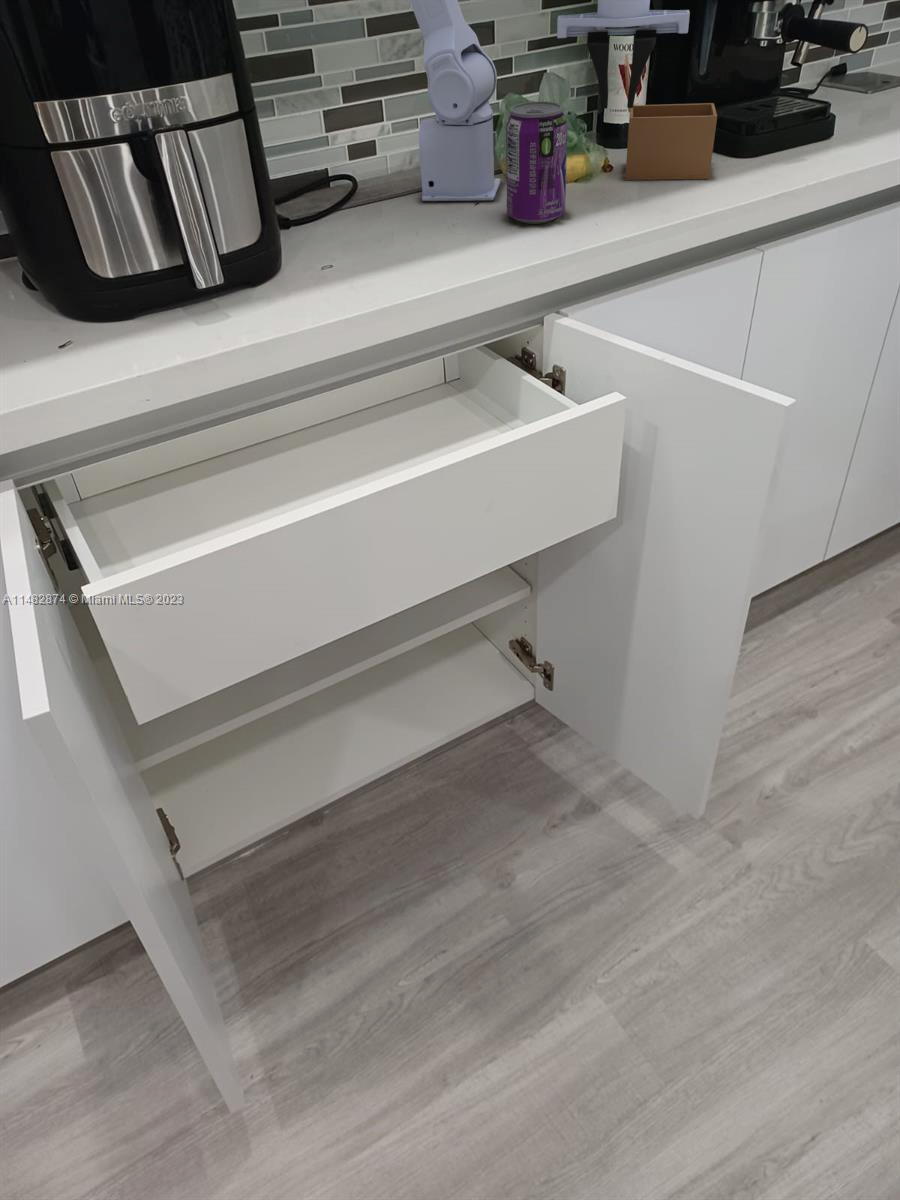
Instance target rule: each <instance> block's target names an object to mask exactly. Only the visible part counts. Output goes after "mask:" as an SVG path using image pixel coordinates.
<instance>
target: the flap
mask: <svg viewBox="0 0 900 1200" xmlns="http://www.w3.org/2000/svg"><path fill="white" fill-rule="evenodd" d="M629 65H630V64H629V54H626V55H625V56H624V75H625V87H626V97H627V98H626V99H628V91H629V84H630V77H631V75H630V66H629ZM627 109H628V113H629V114H630V112H631V108H627Z"/></svg>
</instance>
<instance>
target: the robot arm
mask: <svg viewBox="0 0 900 1200" xmlns="http://www.w3.org/2000/svg"><path fill="white" fill-rule="evenodd" d="M409 2H410V5H411V9H412V11H413V13H414V17H415V19H416V21H417V25H418V27H419V30H420V33H421V35H422V39H423V43H424V44H423V45H424V46H423V57H422V65H423V68H424V71H425V74H426V77H427V99H428V102H429V105H430V108H431V109H432V111H433V112H434V114H435V118H427V119H422V120H421V121H420V124H419V125H420V126H419V130H418V131H419V132H418V152H419V165H420V179H421V180H420V181H421V194H422V195H421V201H423V202H446V201H447V202H449V201H450V202H456V201H457V202H459V201H461V202H463V201H464V202H465V201H468V202H469V201H471V202H472V201H474V202H475V201H493V200H495V197H496V195H497V192H498V190H499V187H500V184H501V178H495V158H494V157H495V156H494V154H495V153H494V117H493V116H494V111H493V109H492V107H491V105H490V99H491V98H492V97H493V95H494V93H495V91H496V88H497V83H498V73H497V69H496V66H495V64H494V61H493V60H492V59H491V58H490V57H489V55H488V54H487V53H486V52H485V51H484V50H483V48H482V46H481V44H480V42H479V38H478V36H477V34H476V32H475V31H474V30H473V29H472V28H471V26H470V25H469V24H468V23H467V22H466V20H465V18H464V15H463V12H462V9H461V6H460V4H459V1H458V0H409ZM650 3H651V0H597V12H585V13H577V14H566V15H562V14H561V15H558V16H557V18H556V19H557V22H556V23H557V27H556V32H557V33H556V38H557V39H566V38H568V37H569V38H570V37H587V39H586V46H587V50H588V53H589V55H590V58H591V62H592V64H593V67H594V71H595V75H596V78H597V83H598V88H599V94H600V109H601V110H605V109H608V107H609V59H610V58H609V57H610V43H611V41H610V40H611V36H620V35H622V36H623V35H633V40H632V41H633V42H632V55H631V56H632V57H631V71H630V84H629V91H628V98H627V104H626V108H627V109H628V108H633V105H635V98H636V95H637V91H638V87H639V83H640V80H641V77H642V75H643V72H644V69H645V68H646V64H647V62H648V61H649V59H650V56H651V54H652V52H653V50H654V47H655V45H656V43H657V34H671V33H673V34H675V33H677V34H688V32H689V26H690V25H689V24H690V17H691V16H690V14H691V12H690V9H680V10H679V9H678V10H677V9H676V10H675V9H673V10H671V9H650V5H651V4H650Z"/></svg>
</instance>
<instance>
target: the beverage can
mask: <svg viewBox="0 0 900 1200" xmlns="http://www.w3.org/2000/svg"><path fill="white" fill-rule="evenodd" d="M564 110H565V106H564V104H562V103H560V102H556V101H548V100H545V101H544V100H540V101H537V100H536V101H527V102H521V103H518V104H514V105H512V106H510V108H509V114H510V115H509V116H508V120H507V123H506V124H505V172H506V173H505V175H506V176H505V177H506V180H505V181H506V182H505V183H506V184H505V185H506V214H507V216H508V217H510V218H512V219H514V220H516V221H518V222H519V223H523V224H527V225H540V224H546V223H549V222H552V221H554V220H556V218H559V217H560V216H562V215H563V214H564V213H565V212H566V198H567V197H566V195H567V194H566V193H567V160H568V159H567V155H568V121H567V118H566V117H565V114H564Z"/></svg>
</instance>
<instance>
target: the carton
mask: <svg viewBox="0 0 900 1200" xmlns="http://www.w3.org/2000/svg"><path fill="white" fill-rule="evenodd" d="M628 117H629V119H628V131H627V148H626V161H625V164H626V165H625V178H624V179H625V181H644V180H645V181H649V180H651V181H653V180H656V181H657V180H659V181H660V180H661V181H662V180H710V174H711V169H712V168H711V167H712V158H713V152H714V144H715V135H716V130H717V129H716V128H717V123H718V122H717V121H718V113H717V110H716V106H715V103H714V102H707V103H705V102H703V103H671V104H667V103H666V104H636V105H635V104H634V105H633V108H631V112H630V113H629V116H628Z"/></svg>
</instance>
